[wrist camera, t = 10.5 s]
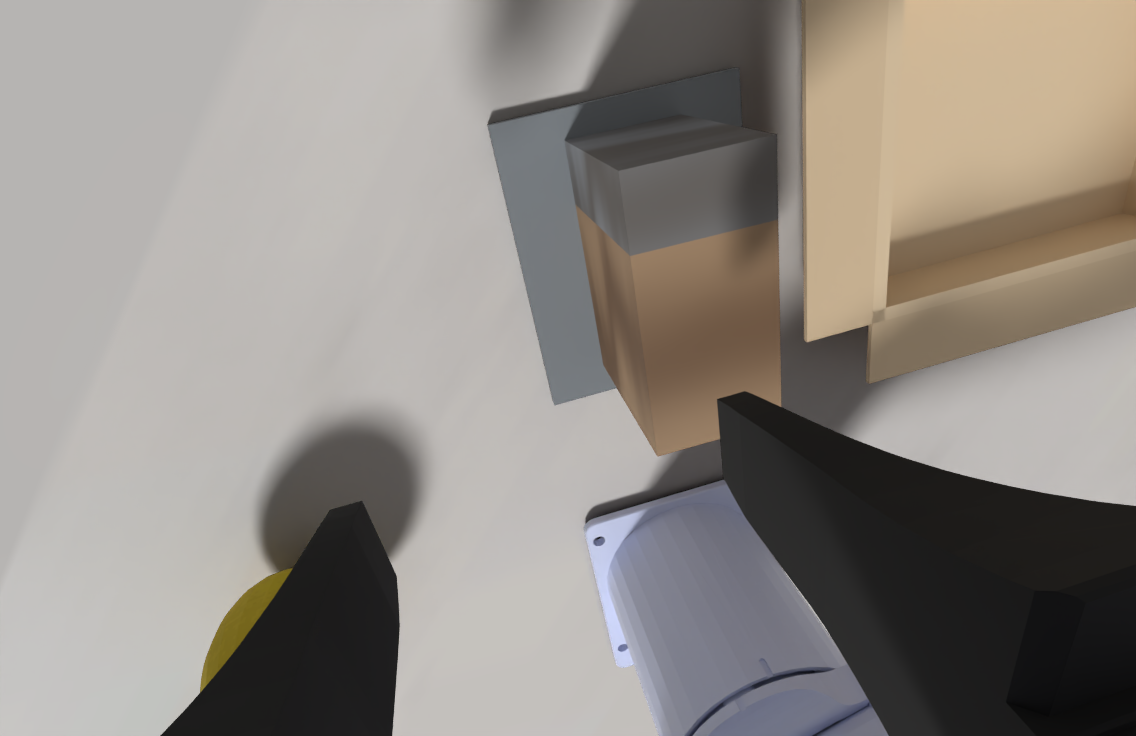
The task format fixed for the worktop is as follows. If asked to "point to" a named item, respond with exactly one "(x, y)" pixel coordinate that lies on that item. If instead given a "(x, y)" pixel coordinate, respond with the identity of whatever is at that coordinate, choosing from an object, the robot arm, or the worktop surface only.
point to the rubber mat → (550, 216)
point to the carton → (966, 172)
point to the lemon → (240, 623)
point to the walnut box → (682, 268)
